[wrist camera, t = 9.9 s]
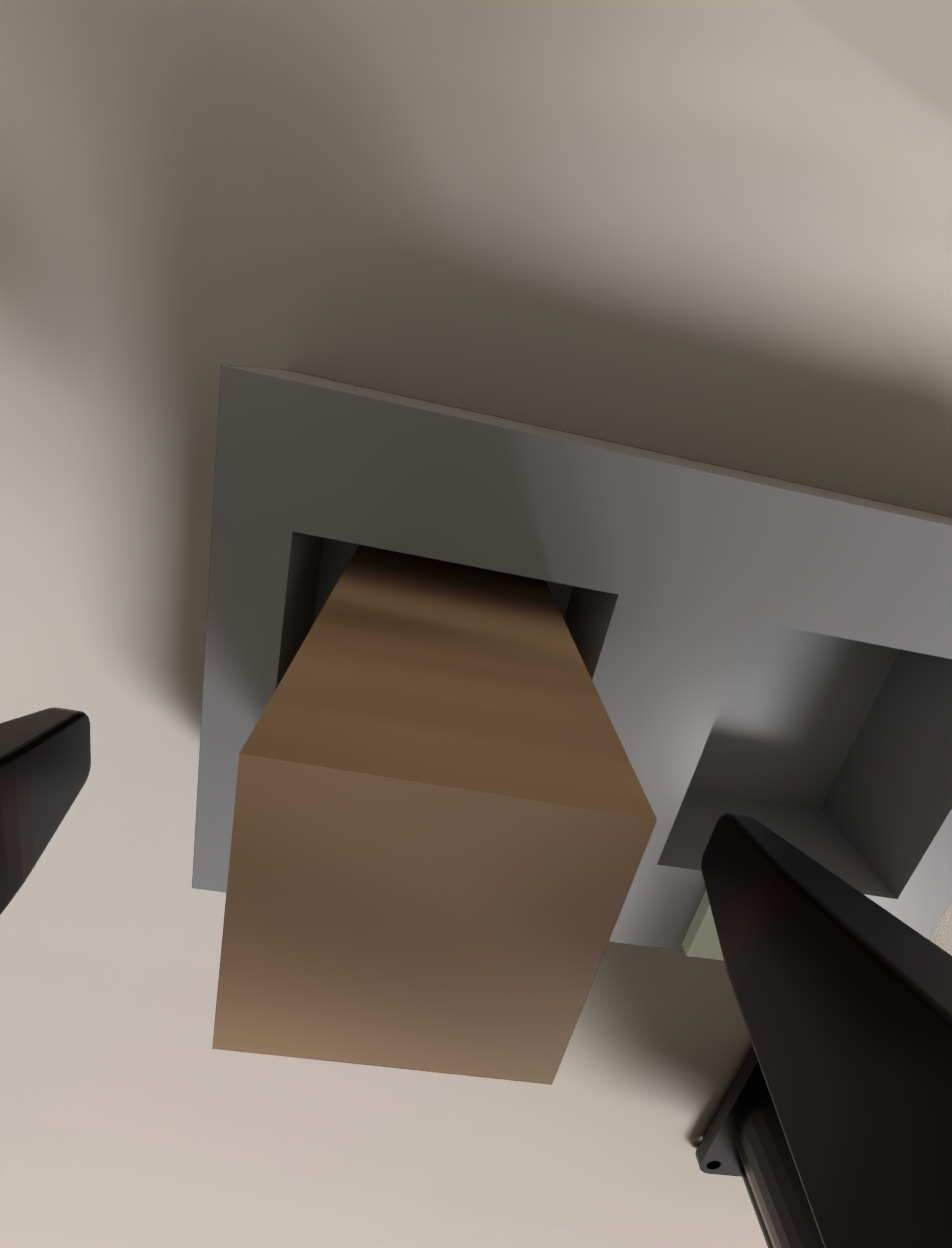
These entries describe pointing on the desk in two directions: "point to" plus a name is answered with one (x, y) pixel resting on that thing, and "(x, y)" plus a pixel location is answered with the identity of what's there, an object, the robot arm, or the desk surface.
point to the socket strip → (615, 624)
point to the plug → (427, 832)
